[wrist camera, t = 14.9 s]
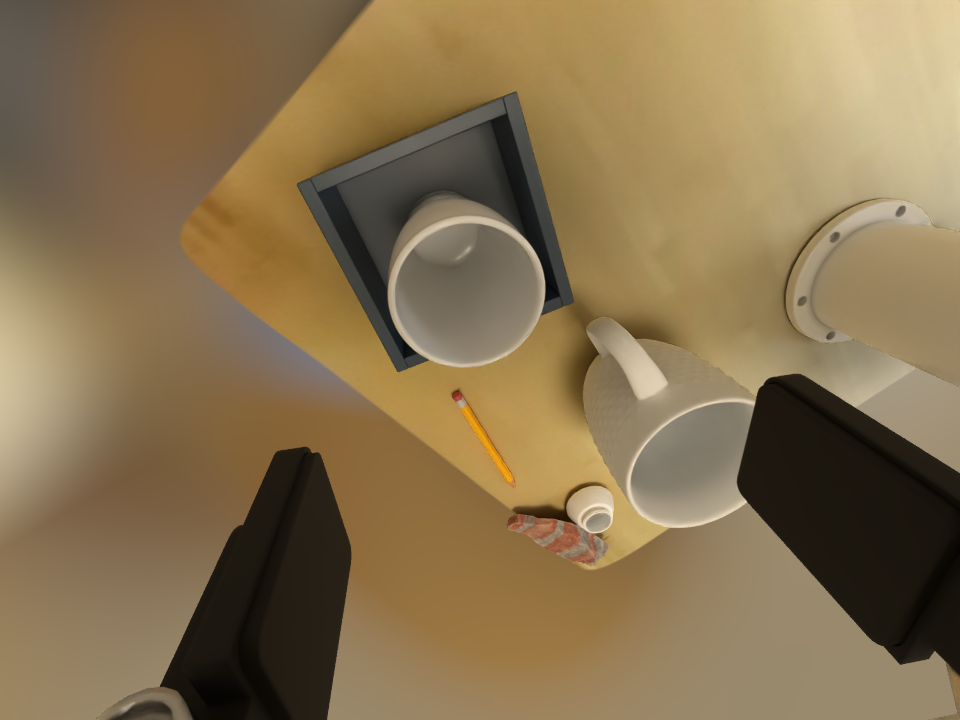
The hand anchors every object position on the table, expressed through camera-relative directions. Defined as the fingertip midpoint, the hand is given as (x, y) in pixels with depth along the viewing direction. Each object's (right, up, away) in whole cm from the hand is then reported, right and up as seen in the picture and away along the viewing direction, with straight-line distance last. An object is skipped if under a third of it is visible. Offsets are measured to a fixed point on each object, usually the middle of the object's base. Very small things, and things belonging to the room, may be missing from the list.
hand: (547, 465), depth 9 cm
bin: (-4, +12, +23) cm, 26 cm away
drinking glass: (-4, +12, +22) cm, 25 cm away
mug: (+11, +2, +31) cm, 32 cm away
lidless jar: (+10, -13, +38) cm, 41 cm away
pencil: (-1, -6, +32) cm, 33 cm away
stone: (+6, -18, +39) cm, 44 cm away
